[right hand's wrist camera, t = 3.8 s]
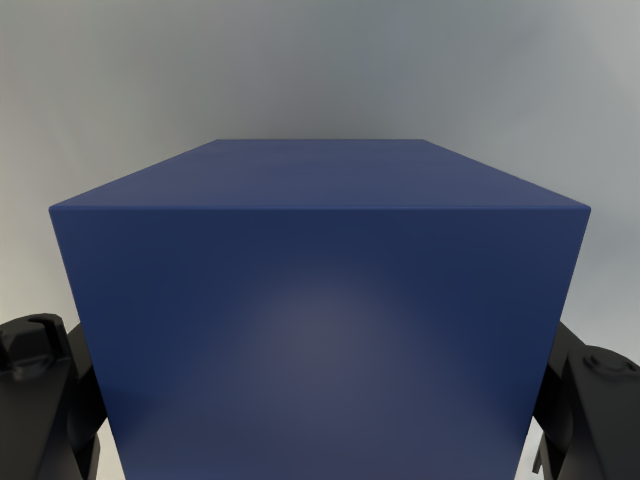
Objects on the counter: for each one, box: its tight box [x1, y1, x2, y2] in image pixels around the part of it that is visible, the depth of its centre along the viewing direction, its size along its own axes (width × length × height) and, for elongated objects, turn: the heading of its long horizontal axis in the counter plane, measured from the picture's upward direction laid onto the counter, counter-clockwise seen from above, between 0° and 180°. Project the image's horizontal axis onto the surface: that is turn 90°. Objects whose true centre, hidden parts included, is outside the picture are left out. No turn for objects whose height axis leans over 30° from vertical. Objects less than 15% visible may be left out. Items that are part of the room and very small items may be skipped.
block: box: [49, 139, 591, 480], centre depth 11 cm, size 9×8×9 cm
